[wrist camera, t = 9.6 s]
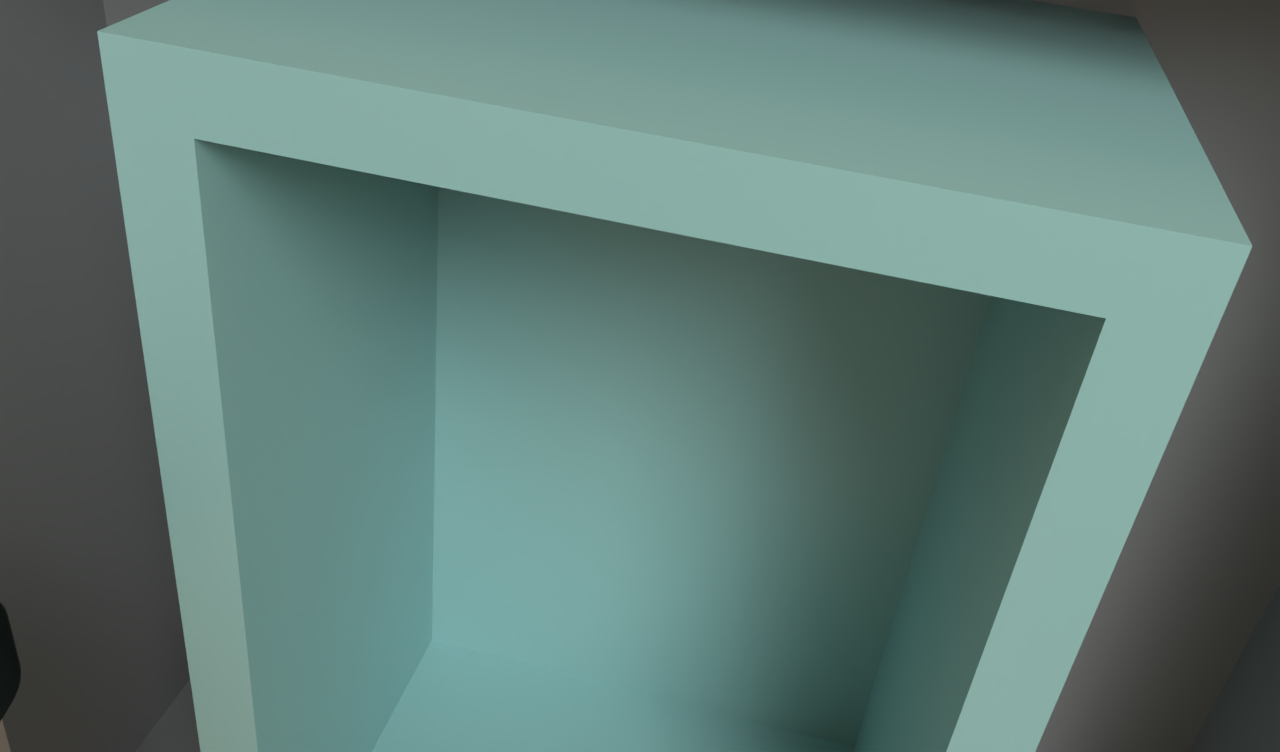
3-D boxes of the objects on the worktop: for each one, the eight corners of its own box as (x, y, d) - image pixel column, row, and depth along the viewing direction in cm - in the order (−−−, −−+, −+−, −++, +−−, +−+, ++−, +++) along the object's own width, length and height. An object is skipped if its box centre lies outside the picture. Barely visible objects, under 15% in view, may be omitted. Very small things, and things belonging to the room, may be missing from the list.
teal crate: (1136, 17, 11) (1251, 245, 6) (891, 752, 16) (869, 1137, 12) (406, -102, 12) (96, 30, 7) (407, 631, 17) (228, 946, 13)
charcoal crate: (1794, -268, 9) (2364, -219, 5) (1135, 910, 18) (1184, 1246, 14) (14, -486, 11) (-450, -558, 8) (182, 659, 20) (0, 893, 16)
